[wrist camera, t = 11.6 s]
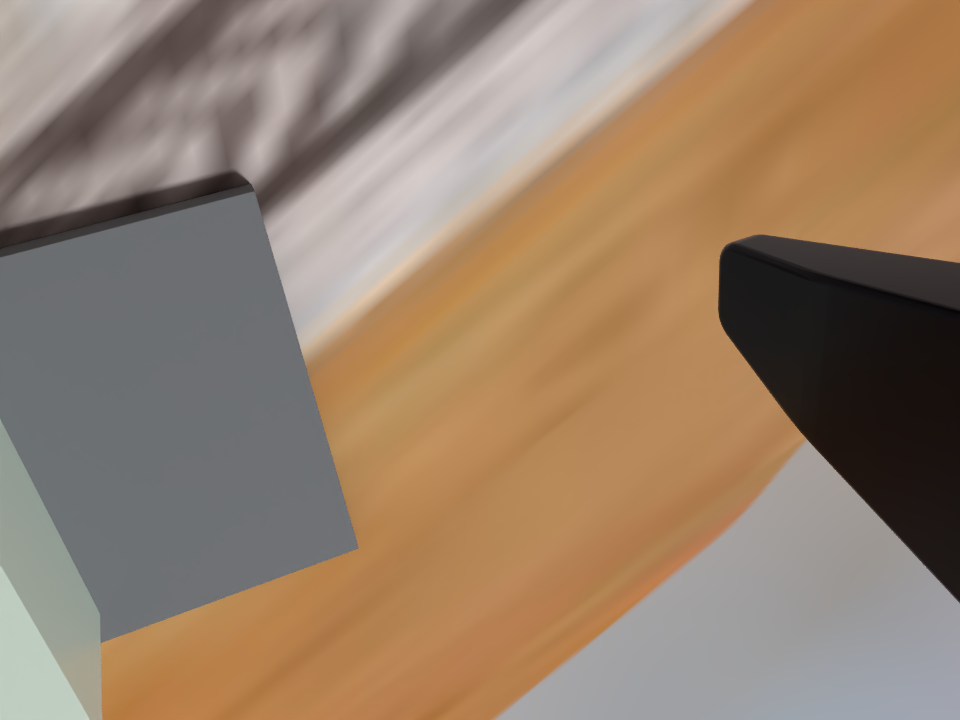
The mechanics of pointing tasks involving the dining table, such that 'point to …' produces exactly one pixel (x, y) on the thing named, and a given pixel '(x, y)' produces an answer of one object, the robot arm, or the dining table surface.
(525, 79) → the dining table surface
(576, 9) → the dining table surface
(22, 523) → the card case
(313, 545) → the rubber mat
